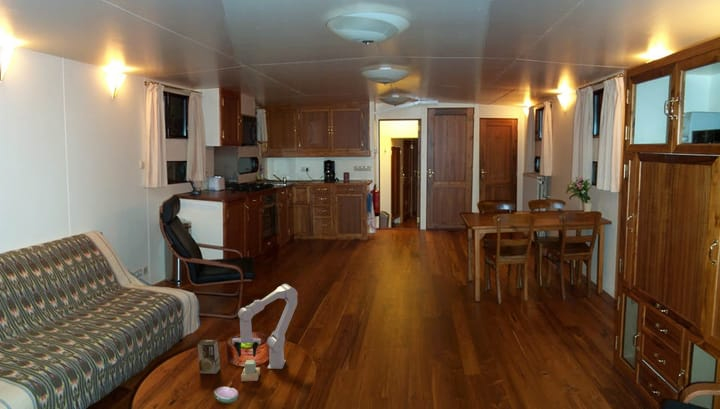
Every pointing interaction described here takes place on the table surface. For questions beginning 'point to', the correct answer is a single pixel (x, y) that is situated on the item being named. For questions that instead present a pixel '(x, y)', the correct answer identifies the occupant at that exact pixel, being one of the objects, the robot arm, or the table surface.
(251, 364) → the pale grey cube
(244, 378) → the birch block
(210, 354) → the coffee box
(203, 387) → the table surface
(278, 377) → the table surface
